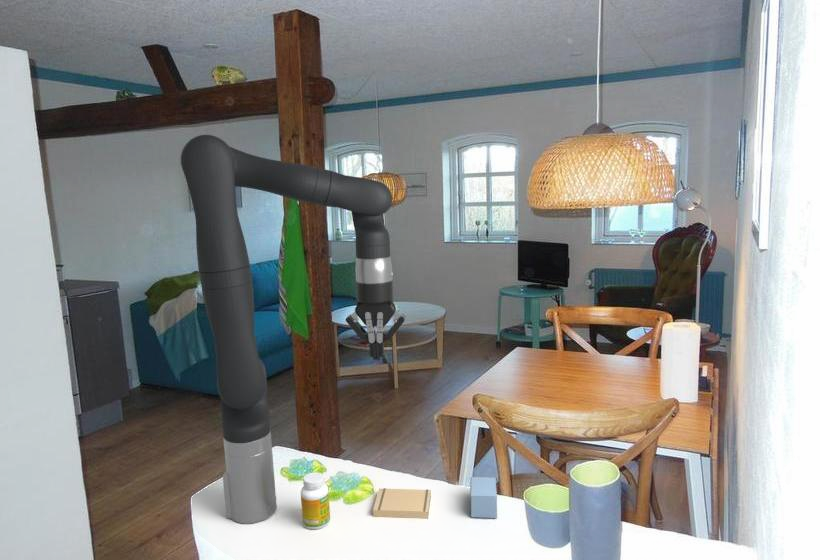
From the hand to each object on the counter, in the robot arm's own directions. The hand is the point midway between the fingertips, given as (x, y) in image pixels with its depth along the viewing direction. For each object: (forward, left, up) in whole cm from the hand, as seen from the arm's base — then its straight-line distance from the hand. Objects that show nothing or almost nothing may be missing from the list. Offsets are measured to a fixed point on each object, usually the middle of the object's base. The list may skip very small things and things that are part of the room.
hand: (377, 358), depth 126 cm
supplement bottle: (-11, -15, -29) cm, 35 cm away
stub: (+22, -9, -29) cm, 37 cm away
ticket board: (+6, -8, -29) cm, 31 cm away
